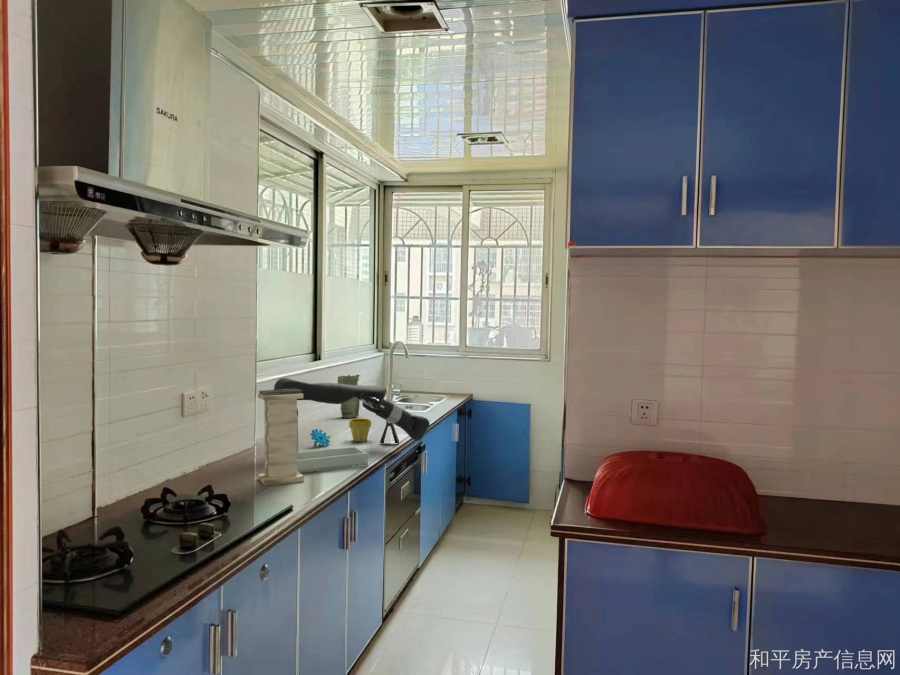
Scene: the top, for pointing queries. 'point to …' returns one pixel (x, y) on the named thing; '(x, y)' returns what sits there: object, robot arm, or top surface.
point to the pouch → (352, 405)
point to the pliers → (392, 433)
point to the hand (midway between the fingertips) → (357, 394)
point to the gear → (320, 437)
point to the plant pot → (360, 428)
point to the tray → (330, 459)
